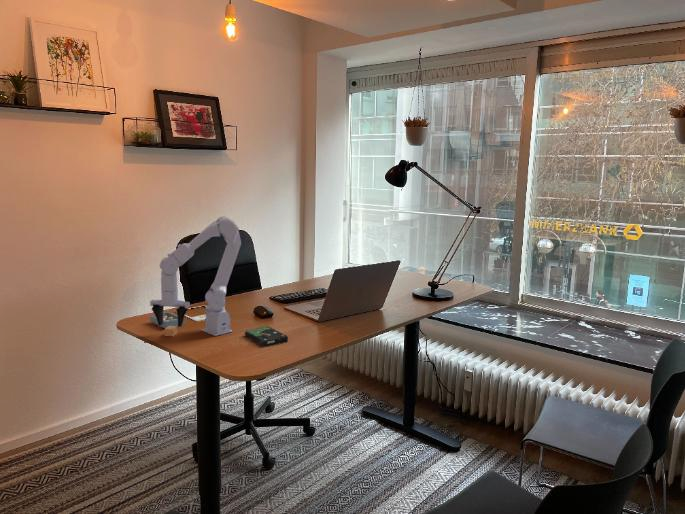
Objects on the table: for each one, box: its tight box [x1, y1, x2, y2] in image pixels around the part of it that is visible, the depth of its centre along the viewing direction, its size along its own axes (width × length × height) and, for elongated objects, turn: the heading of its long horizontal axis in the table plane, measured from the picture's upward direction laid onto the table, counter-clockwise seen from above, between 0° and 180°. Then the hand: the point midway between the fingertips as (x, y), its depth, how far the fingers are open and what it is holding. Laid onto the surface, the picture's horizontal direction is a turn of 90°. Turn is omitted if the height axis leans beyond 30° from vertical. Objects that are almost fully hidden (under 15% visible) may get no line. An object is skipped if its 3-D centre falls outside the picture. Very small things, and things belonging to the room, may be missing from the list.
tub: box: [149, 311, 185, 329], centre depth 213 cm, size 12×8×3 cm, turn 48°
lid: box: [163, 326, 178, 337], centre depth 200 cm, size 12×8×4 cm
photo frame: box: [185, 305, 207, 322], centre depth 229 cm, size 15×1×18 cm
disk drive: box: [244, 325, 289, 348], centre depth 199 cm, size 10×3×15 cm
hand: (170, 325), depth 200 cm, fingers open, 7 cm apart
